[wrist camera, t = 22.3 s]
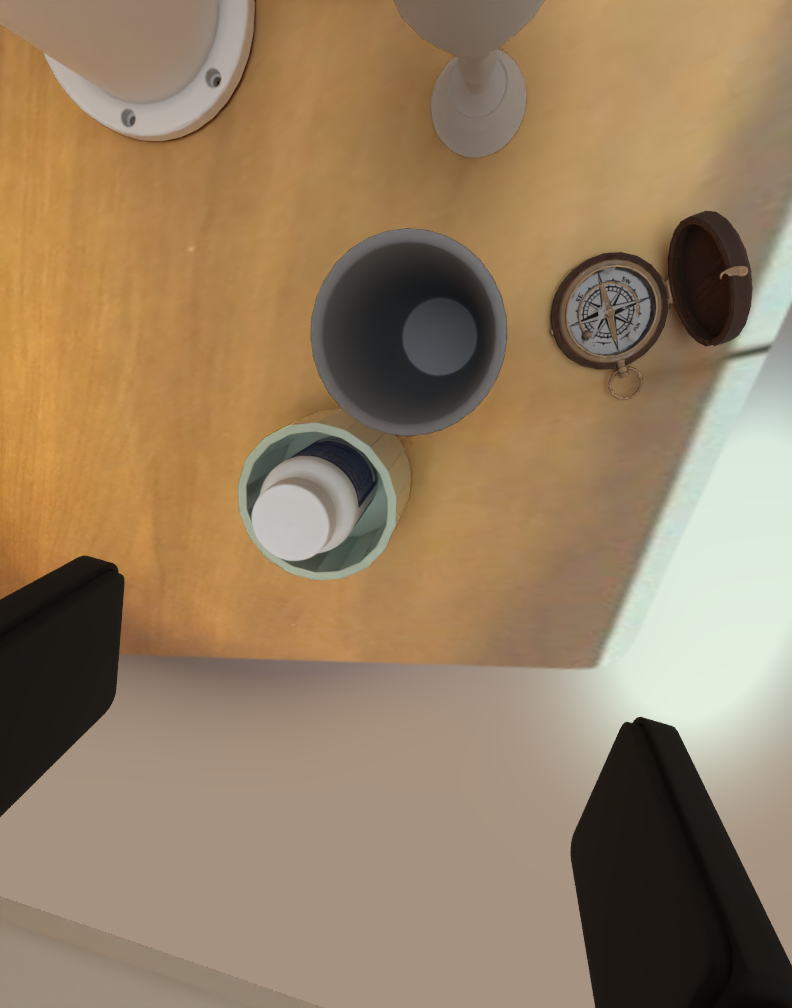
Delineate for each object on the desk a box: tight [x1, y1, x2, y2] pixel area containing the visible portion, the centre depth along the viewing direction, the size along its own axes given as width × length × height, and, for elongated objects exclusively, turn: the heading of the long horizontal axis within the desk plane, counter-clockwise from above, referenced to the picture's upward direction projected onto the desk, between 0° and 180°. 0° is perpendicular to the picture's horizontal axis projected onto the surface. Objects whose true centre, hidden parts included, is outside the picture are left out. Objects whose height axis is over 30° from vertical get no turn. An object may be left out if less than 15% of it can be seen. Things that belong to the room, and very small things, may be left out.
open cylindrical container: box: [238, 408, 411, 580], centre depth 33 cm, size 9×9×6 cm
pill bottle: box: [252, 436, 378, 561], centre depth 31 cm, size 5×5×10 cm
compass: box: [550, 211, 752, 400], centre depth 28 cm, size 8×8×7 cm
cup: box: [311, 228, 507, 436], centre depth 26 cm, size 7×7×15 cm
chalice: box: [393, 0, 545, 158], centre depth 21 cm, size 7×7×18 cm
